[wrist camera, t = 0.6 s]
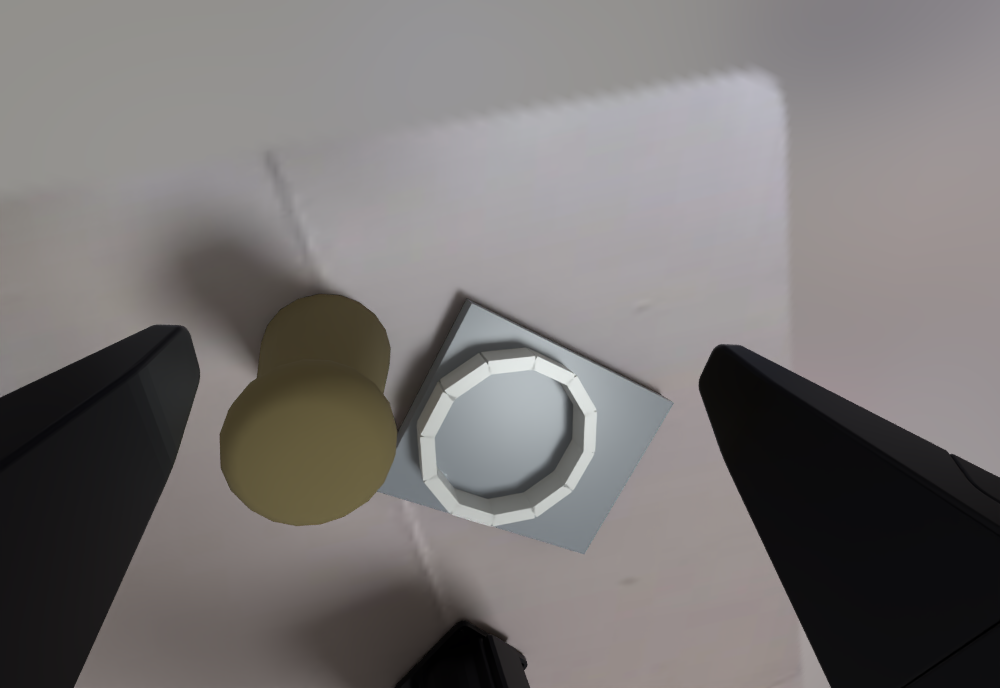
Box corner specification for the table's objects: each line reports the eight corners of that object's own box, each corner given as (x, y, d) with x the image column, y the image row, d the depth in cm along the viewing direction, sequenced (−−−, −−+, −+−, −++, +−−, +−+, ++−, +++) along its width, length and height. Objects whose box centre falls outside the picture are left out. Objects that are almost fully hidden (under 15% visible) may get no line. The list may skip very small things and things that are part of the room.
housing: (374, 478, 26) (375, 507, 24) (466, 298, 25) (479, 309, 23) (576, 541, 32) (595, 571, 29) (662, 395, 30) (689, 413, 28)
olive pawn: (250, 401, 24) (172, 555, 13) (271, 280, 22) (203, 349, 12) (376, 418, 26) (391, 564, 15) (402, 308, 24) (436, 387, 14)
